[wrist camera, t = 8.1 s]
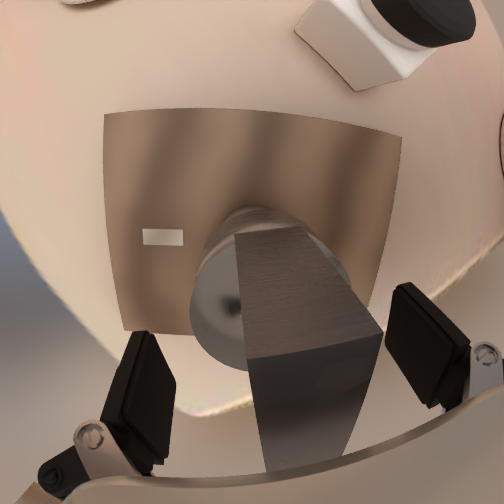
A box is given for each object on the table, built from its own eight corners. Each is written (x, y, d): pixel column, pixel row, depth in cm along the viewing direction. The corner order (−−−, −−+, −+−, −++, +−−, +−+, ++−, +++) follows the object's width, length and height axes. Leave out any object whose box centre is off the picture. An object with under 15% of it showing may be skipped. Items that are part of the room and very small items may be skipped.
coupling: (185, 213, 13) (115, 366, 4) (324, 197, 13) (467, 304, 4) (215, 355, 17) (217, 500, 8) (320, 340, 17) (374, 471, 8)
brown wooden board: (388, 136, 19) (444, 141, 13) (351, 319, 26) (380, 365, 20) (114, 116, 17) (68, 109, 10) (130, 317, 24) (108, 369, 17)
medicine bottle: (400, 53, 16) (500, 26, 5) (355, 93, 18) (464, 70, 7) (345, -5, 14) (419, -68, 3) (291, 30, 15) (353, -52, 4)
